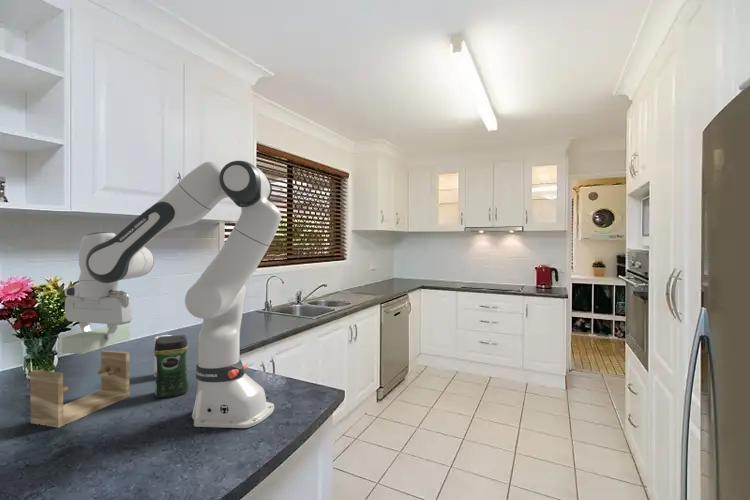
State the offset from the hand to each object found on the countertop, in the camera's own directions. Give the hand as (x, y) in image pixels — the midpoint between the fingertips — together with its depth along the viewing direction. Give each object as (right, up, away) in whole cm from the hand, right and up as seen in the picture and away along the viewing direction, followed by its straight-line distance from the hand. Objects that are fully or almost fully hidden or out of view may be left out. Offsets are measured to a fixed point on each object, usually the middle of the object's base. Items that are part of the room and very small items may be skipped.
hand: (98, 338), depth 105 cm
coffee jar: (+12, -22, +15) cm, 29 cm away
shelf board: (0, -2, 0) cm, 2 cm away
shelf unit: (-7, -22, +4) cm, 23 cm away
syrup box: (+1, -22, +32) cm, 38 cm away
